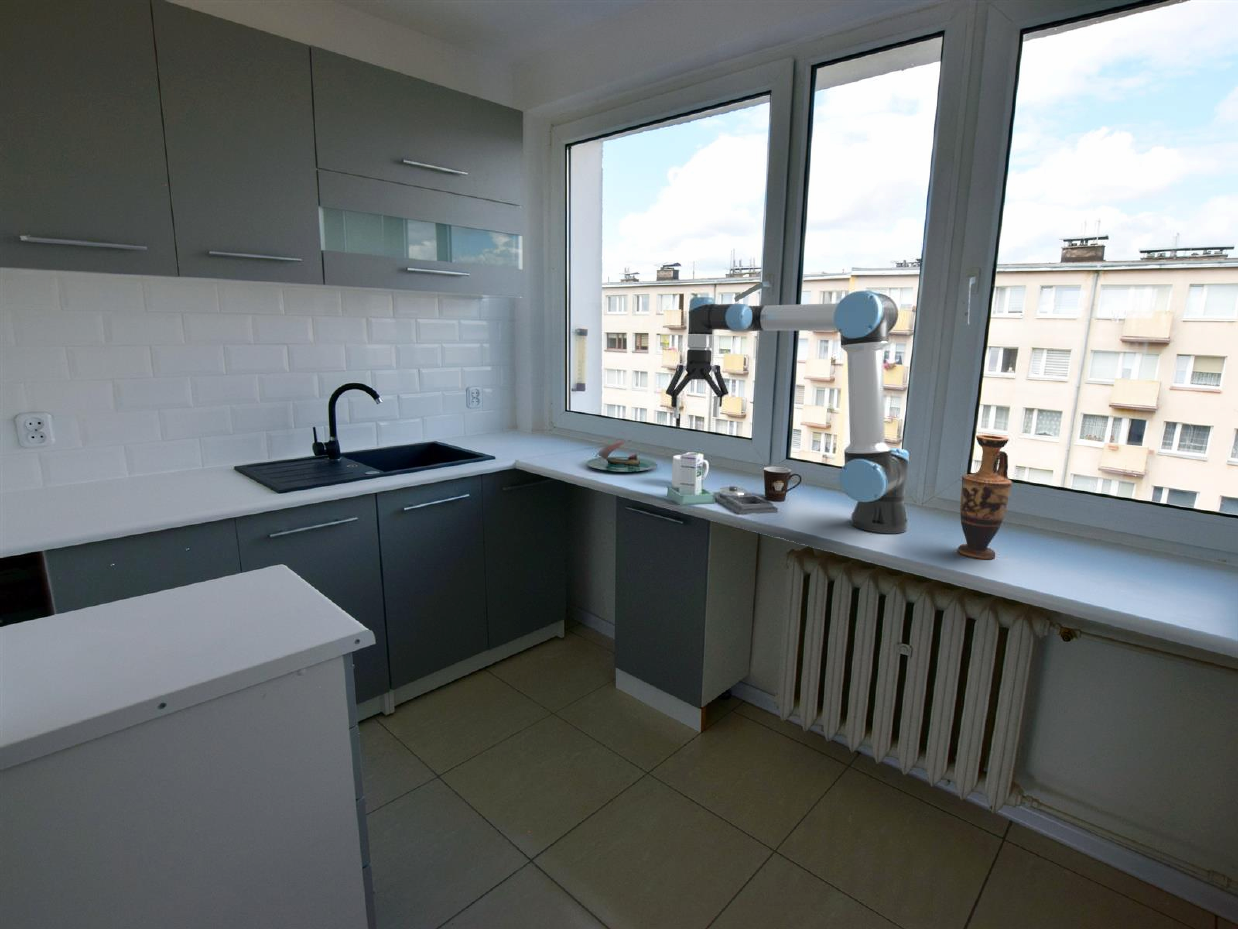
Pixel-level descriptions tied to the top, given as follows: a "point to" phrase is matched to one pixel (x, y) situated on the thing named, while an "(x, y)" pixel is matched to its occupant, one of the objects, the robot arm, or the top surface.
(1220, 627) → the top surface
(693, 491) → the syrup box
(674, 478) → the mug
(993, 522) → the vase
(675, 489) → the tray
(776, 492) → the coffee mug
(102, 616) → the top surface
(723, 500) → the pulley plate
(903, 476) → the robot arm
